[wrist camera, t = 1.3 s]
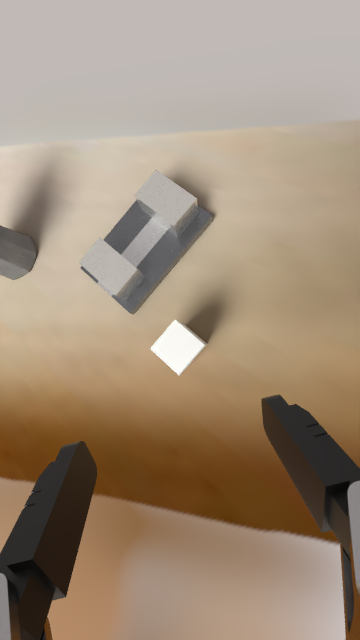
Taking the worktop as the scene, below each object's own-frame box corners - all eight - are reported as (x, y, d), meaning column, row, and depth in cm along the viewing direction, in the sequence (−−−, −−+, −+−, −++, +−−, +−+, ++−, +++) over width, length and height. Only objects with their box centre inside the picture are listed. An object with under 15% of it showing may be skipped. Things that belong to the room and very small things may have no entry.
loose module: (185, 324, 33) (175, 319, 24) (207, 344, 32) (205, 345, 23) (166, 346, 33) (149, 348, 24) (188, 366, 32) (178, 375, 24)
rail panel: (159, 182, 36) (150, 157, 31) (212, 220, 34) (212, 200, 29) (85, 270, 37) (65, 260, 32) (133, 314, 35) (120, 309, 30)
